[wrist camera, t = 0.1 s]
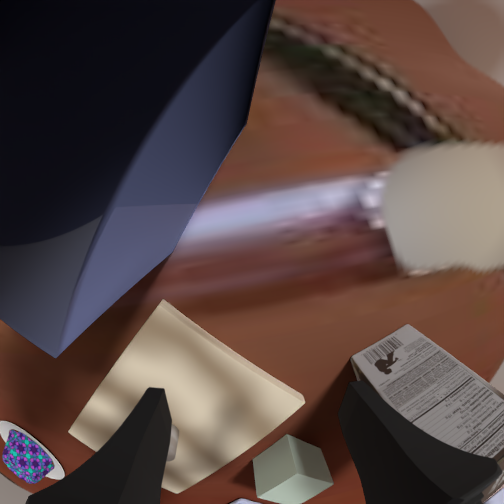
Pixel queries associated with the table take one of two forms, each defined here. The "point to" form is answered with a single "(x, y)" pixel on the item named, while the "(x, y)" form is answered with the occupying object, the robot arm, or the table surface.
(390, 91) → the table surface
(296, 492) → the pale green cube
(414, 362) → the coffee box
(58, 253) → the vase
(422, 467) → the robot arm
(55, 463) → the purple patterned hat
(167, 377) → the board
